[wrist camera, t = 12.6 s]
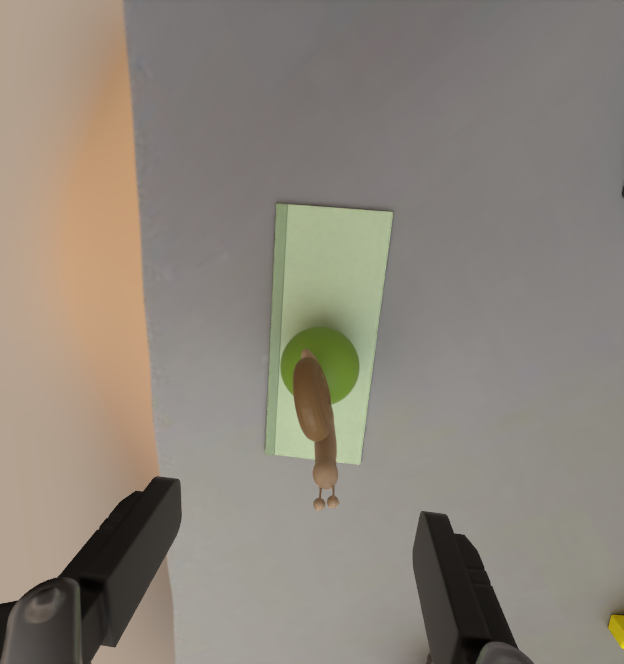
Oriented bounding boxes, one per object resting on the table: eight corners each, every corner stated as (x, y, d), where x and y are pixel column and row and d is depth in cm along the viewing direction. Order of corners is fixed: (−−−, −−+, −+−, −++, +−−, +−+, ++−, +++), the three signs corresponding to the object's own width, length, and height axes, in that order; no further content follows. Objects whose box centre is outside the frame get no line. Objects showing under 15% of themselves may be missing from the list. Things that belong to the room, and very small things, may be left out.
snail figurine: (301, 403, 28) (271, 521, 16) (278, 328, 26) (228, 400, 15) (367, 389, 27) (386, 503, 16) (348, 311, 26) (352, 373, 14)
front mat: (277, 203, 24) (276, 203, 24) (392, 212, 24) (393, 211, 24) (266, 451, 30) (264, 454, 29) (359, 462, 29) (360, 466, 29)
